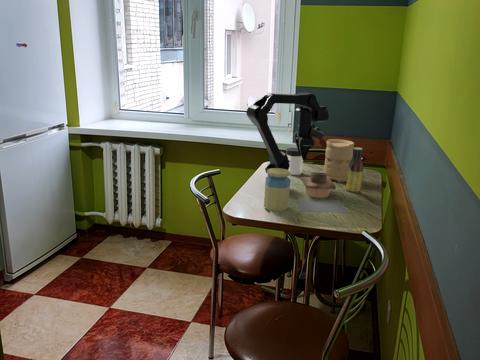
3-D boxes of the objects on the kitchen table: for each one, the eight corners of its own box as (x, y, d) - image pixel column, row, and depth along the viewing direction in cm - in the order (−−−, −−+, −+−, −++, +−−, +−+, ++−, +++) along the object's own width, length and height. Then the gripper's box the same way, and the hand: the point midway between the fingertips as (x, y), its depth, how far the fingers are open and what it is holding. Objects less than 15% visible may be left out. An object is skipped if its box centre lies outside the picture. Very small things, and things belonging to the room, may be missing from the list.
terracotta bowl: (306, 199, 181) (308, 187, 180) (302, 191, 191) (303, 180, 189) (331, 200, 182) (332, 188, 180) (325, 192, 191) (327, 181, 190)
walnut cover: (306, 188, 179) (307, 177, 178) (301, 179, 190) (302, 169, 189) (335, 189, 179) (336, 178, 178) (328, 180, 191) (330, 170, 190)
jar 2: (288, 169, 225) (290, 146, 222) (303, 172, 222) (305, 148, 218) (281, 173, 218) (283, 149, 214) (297, 176, 214) (299, 152, 211)
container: (350, 183, 207) (355, 145, 202) (323, 180, 209) (327, 143, 204) (348, 176, 219) (352, 140, 214) (322, 173, 221) (326, 138, 215)
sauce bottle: (349, 189, 197) (354, 145, 191) (362, 192, 193) (368, 148, 188) (342, 192, 192) (348, 147, 187) (356, 196, 188) (361, 150, 183)
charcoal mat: (301, 213, 165) (301, 211, 165) (295, 201, 178) (296, 198, 178) (349, 215, 166) (349, 212, 165) (340, 202, 179) (340, 200, 179)
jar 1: (264, 204, 173) (266, 167, 169) (288, 206, 173) (291, 168, 168) (263, 212, 165) (265, 173, 160) (287, 214, 164) (291, 175, 160)
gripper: (328, 126, 183) (324, 163, 187) (319, 119, 201) (316, 153, 205) (301, 125, 182) (298, 162, 187) (295, 118, 200) (292, 152, 205)
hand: (302, 157), depth 196 cm, fingers open, 9 cm apart
